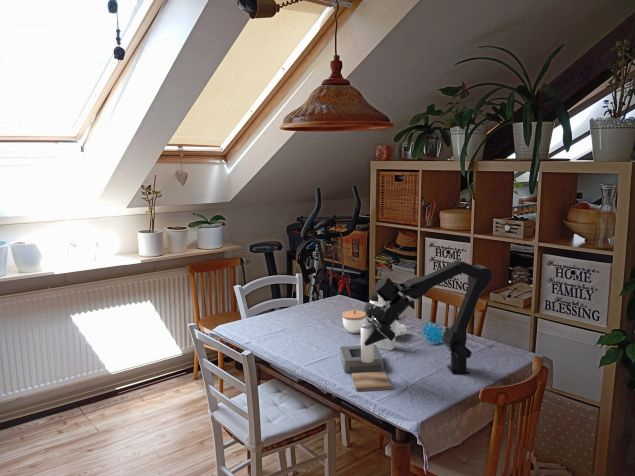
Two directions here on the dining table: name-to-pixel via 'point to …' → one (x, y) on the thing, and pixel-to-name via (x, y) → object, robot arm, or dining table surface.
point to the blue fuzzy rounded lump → (433, 333)
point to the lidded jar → (353, 320)
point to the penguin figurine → (400, 329)
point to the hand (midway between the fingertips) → (363, 342)
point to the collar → (359, 360)
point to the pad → (371, 381)
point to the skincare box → (386, 342)
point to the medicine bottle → (376, 300)
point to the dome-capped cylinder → (366, 351)
